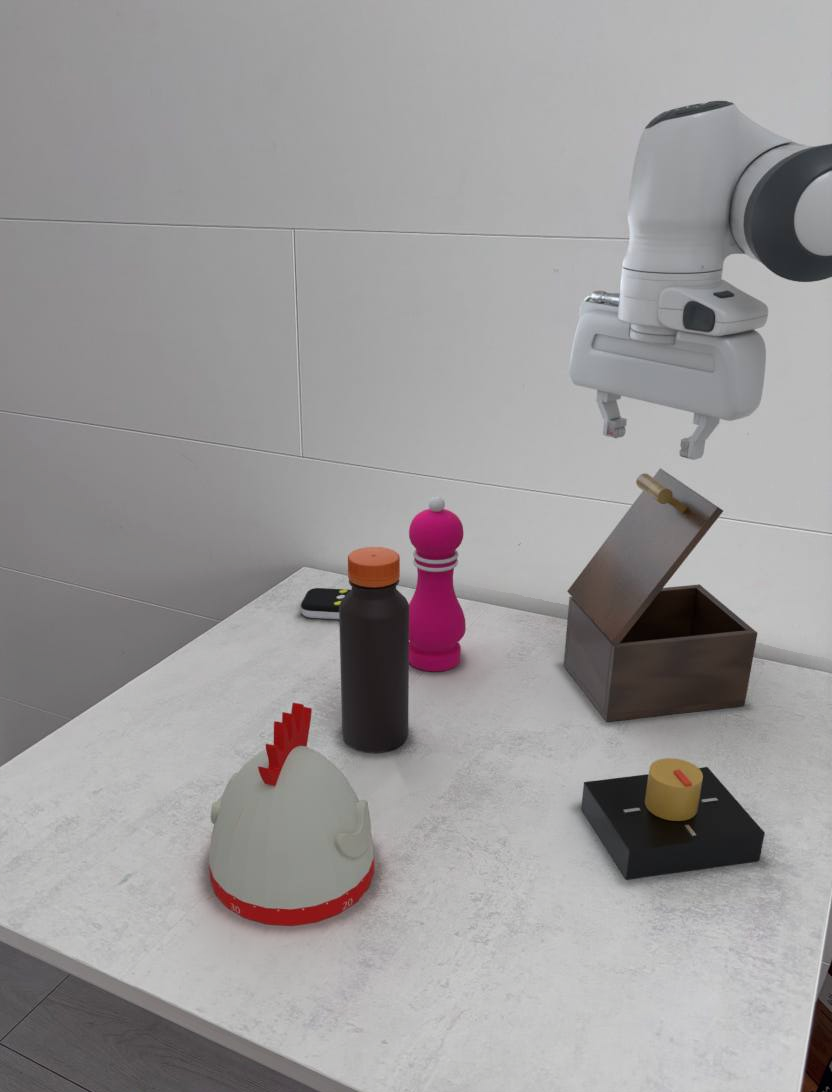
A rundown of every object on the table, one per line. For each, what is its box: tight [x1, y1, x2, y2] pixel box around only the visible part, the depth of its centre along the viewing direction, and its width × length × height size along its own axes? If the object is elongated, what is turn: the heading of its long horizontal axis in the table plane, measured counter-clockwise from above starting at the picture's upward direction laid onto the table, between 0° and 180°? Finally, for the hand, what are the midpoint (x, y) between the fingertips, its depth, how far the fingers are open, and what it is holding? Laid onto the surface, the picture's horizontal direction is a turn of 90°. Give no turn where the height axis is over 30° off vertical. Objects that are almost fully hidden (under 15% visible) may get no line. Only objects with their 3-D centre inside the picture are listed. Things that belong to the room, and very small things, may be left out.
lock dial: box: [645, 757, 703, 821], centre depth 88 cm, size 4×4×4 cm
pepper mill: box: [408, 495, 467, 672], centre depth 116 cm, size 7×7×20 cm
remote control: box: [300, 587, 352, 620], centre depth 132 cm, size 6×13×2 cm, turn 80°
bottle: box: [338, 546, 410, 753], centre depth 101 cm, size 7×7×20 cm
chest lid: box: [566, 467, 724, 645], centre depth 105 cm, size 16×13×5 cm
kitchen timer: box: [208, 702, 375, 927], centre depth 84 cm, size 14×14×15 cm
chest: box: [563, 584, 758, 723], centre depth 112 cm, size 16×13×9 cm
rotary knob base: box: [580, 766, 766, 880], centre depth 90 cm, size 12×10×3 cm
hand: (651, 446), depth 101 cm, fingers open, 8 cm apart
